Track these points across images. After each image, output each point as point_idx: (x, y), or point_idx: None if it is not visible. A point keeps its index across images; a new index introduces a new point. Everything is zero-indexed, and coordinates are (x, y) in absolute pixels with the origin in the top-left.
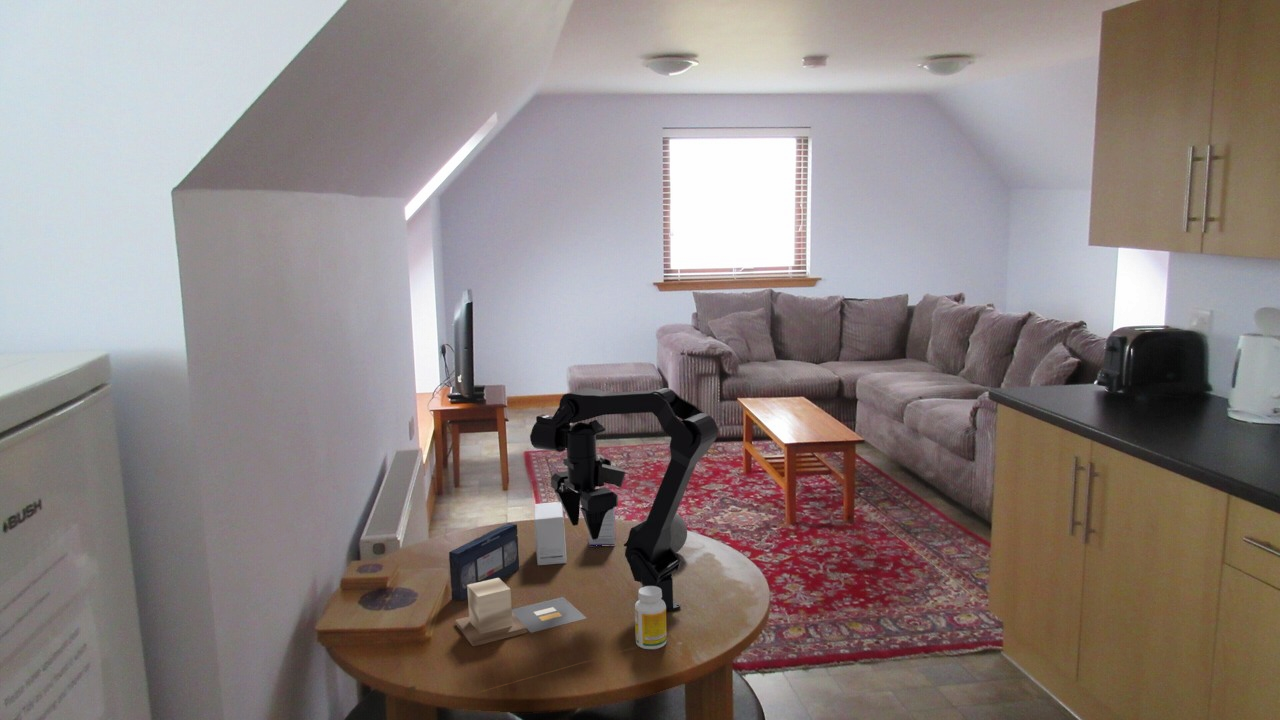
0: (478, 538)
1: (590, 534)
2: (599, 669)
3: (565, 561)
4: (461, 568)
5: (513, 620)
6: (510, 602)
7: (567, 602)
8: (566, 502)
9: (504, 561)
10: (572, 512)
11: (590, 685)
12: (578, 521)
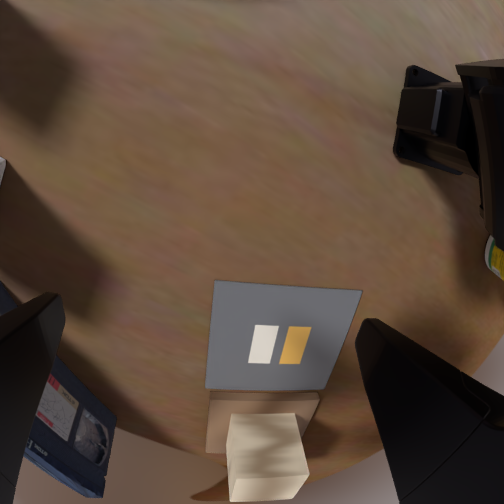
0: None
1: (365, 374)
2: (475, 341)
3: (3, 163)
4: (102, 466)
5: (276, 408)
6: (303, 451)
7: (255, 288)
8: (5, 472)
9: None
10: (26, 384)
11: (481, 360)
12: (50, 301)
